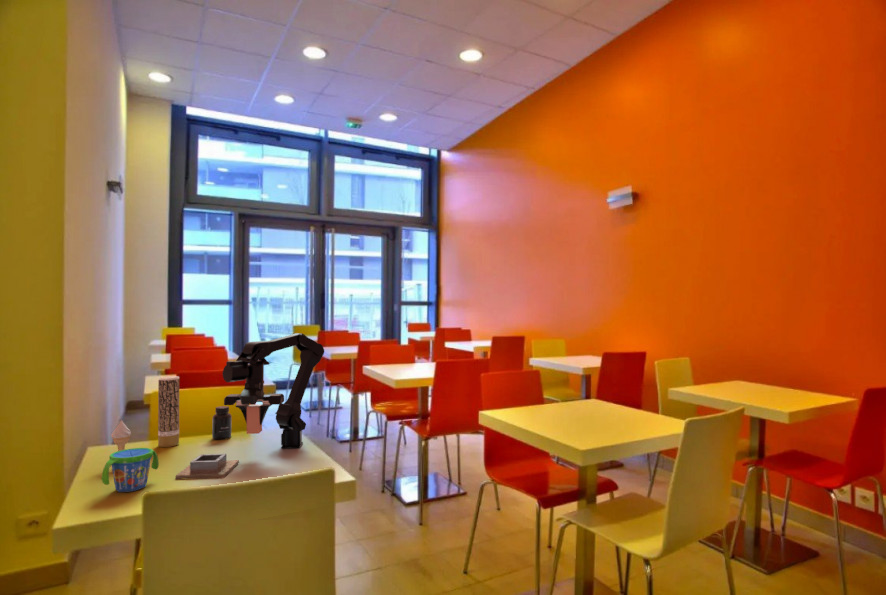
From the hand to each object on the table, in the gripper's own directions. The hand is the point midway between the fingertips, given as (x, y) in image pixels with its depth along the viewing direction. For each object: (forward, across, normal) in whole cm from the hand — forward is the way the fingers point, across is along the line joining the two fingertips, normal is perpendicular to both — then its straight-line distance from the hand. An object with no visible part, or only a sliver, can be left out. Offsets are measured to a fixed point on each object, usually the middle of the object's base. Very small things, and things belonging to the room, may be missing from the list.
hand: (254, 424), depth 174 cm
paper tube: (+11, -36, +17) cm, 41 cm away
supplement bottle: (+11, -20, +26) cm, 35 cm away
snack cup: (+11, -26, -28) cm, 40 cm away
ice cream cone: (+11, -40, -7) cm, 42 cm away
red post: (+3, 0, 0) cm, 3 cm away
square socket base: (+11, -10, -14) cm, 20 cm away
